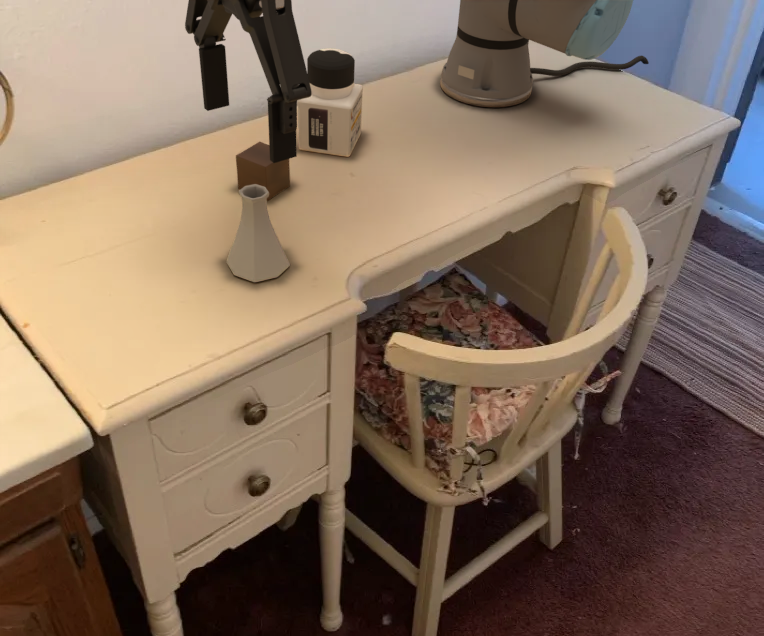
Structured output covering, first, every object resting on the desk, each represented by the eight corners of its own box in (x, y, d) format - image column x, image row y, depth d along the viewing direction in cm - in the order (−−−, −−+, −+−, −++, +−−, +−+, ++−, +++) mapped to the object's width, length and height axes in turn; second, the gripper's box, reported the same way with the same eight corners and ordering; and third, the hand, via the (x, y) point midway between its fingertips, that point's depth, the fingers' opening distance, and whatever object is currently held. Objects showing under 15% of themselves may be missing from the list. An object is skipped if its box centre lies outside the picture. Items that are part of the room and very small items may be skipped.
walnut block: (261, 174, 115) (259, 141, 112) (290, 186, 114) (289, 152, 110) (238, 189, 112) (235, 155, 109) (267, 201, 111) (265, 167, 107)
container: (349, 158, 120) (352, 68, 111) (297, 150, 121) (296, 61, 112) (361, 134, 126) (364, 47, 117) (311, 126, 126) (311, 40, 117)
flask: (263, 241, 104) (259, 168, 97) (301, 267, 100) (299, 193, 93) (215, 263, 100) (207, 189, 93) (253, 291, 96) (248, 216, 89)
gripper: (134, -124, 79) (162, 94, 93) (274, -50, 65) (281, 193, 79) (205, -131, 82) (221, 81, 97) (353, -62, 68) (346, 172, 83)
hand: (248, 132), depth 88 cm, fingers open, 13 cm apart
